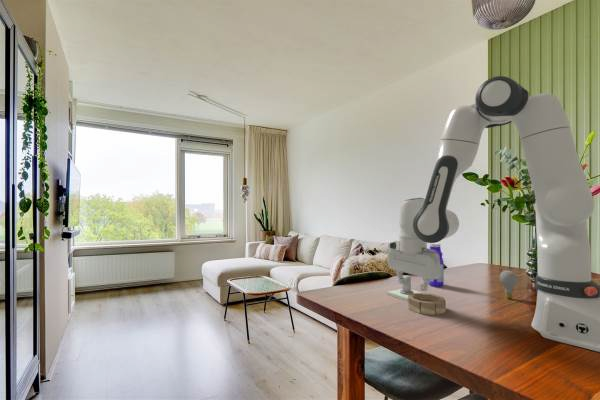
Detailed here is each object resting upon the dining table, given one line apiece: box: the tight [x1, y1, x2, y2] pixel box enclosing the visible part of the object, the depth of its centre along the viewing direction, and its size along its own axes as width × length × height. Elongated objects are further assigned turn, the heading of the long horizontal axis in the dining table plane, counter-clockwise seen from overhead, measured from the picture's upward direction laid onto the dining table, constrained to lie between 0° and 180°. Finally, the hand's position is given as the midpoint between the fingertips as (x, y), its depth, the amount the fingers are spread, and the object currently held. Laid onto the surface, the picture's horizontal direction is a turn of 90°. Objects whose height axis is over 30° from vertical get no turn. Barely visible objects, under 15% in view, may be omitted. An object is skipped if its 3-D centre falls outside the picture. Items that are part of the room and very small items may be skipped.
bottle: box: [428, 242, 445, 288], centre depth 136 cm, size 7×6×17 cm
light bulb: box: [499, 269, 519, 300], centre depth 116 cm, size 5×6×10 cm
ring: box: [407, 292, 447, 316], centre depth 106 cm, size 11×11×4 cm
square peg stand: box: [386, 275, 422, 302], centre depth 121 cm, size 10×10×7 cm
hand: (412, 286), depth 110 cm, fingers open, 8 cm apart
